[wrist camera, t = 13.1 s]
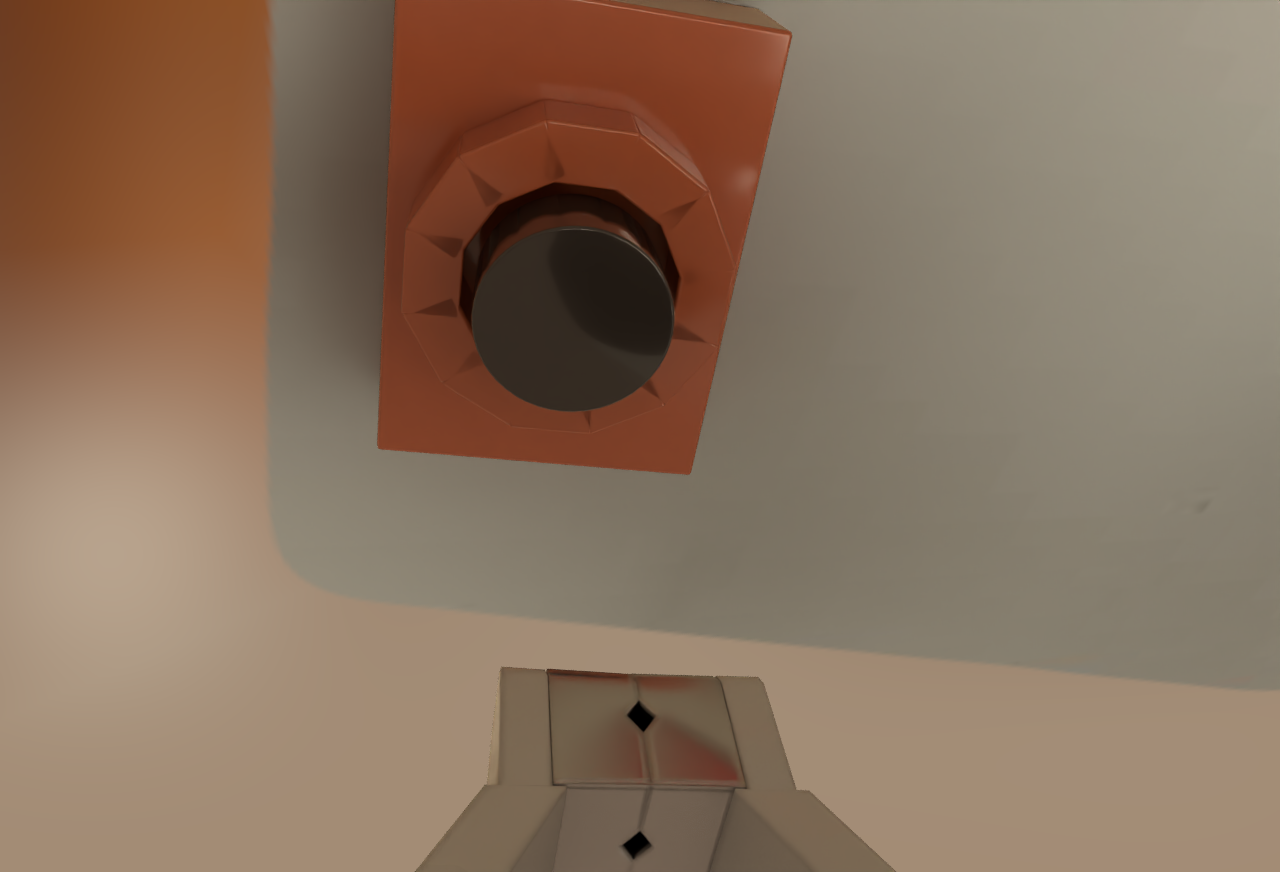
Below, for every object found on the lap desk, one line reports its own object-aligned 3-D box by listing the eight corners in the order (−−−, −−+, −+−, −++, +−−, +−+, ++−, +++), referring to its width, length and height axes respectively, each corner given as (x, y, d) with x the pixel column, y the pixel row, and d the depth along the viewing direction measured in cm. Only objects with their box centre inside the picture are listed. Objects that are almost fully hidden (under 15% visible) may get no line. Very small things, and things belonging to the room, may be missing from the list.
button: (645, 375, 22) (655, 421, 21) (467, 358, 22) (463, 403, 20) (677, 206, 20) (693, 240, 19) (483, 180, 20) (480, 213, 18)
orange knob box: (674, 415, 28) (702, 516, 24) (390, 388, 27) (367, 491, 23) (761, 8, 23) (817, 47, 19) (410, -52, 21) (385, -25, 17)
